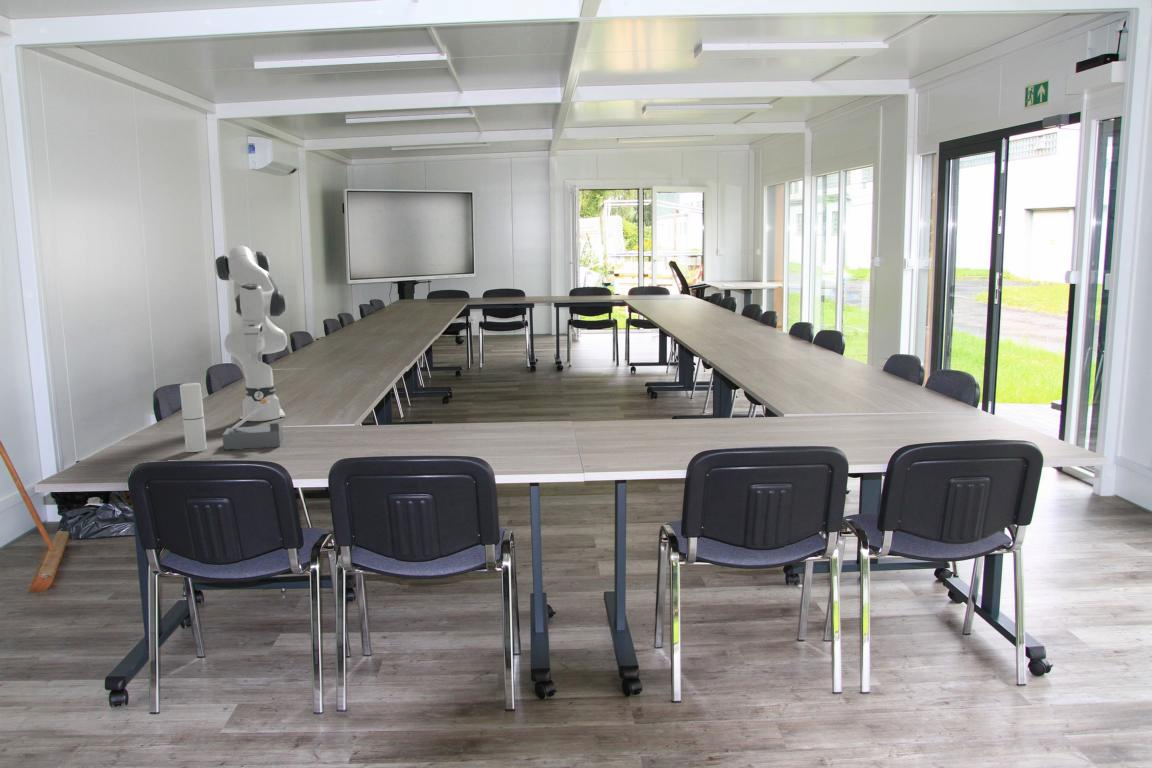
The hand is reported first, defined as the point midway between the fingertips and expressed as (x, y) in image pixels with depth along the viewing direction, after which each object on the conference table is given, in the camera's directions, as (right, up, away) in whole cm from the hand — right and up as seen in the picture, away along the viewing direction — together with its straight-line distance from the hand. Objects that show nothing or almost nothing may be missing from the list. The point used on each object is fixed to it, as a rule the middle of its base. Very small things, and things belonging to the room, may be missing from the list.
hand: (257, 362), depth 333 cm
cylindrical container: (-19, -33, -10) cm, 40 cm away
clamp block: (0, -31, -3) cm, 32 cm away
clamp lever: (0, -20, -5) cm, 21 cm away
